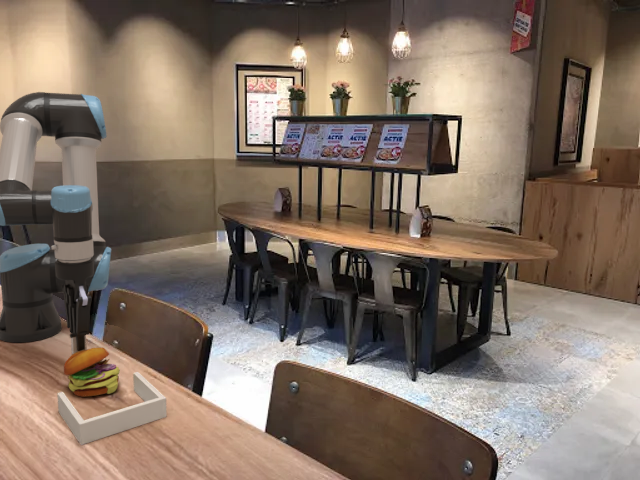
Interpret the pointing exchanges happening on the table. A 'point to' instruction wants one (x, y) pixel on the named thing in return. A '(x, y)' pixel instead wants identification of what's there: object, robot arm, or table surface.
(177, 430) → the table surface
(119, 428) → the box
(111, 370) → the cheeseburger
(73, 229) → the robot arm
